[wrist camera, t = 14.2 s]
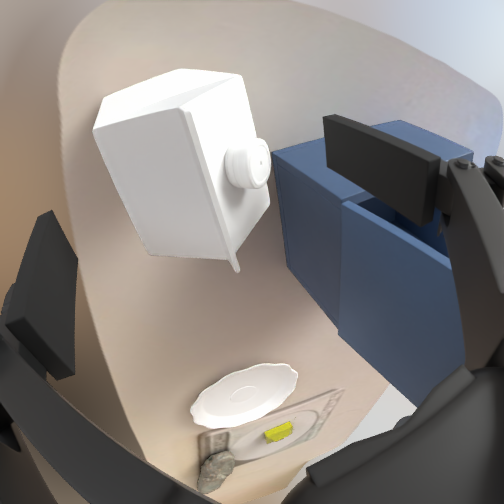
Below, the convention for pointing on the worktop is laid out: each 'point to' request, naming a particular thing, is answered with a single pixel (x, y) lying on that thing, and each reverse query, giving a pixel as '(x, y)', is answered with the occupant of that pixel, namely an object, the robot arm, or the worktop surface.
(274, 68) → the worktop surface
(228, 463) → the elongated rock
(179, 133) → the milk carton
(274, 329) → the worktop surface
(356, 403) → the worktop surface
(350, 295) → the cool box lid
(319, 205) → the cool box
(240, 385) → the plate
